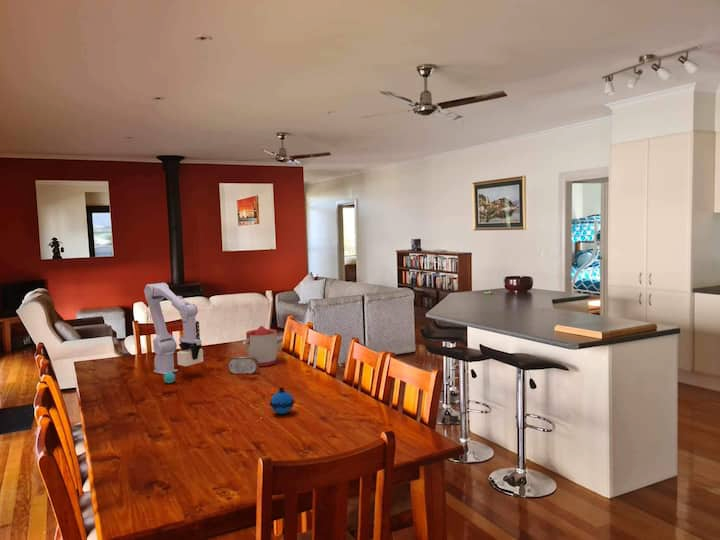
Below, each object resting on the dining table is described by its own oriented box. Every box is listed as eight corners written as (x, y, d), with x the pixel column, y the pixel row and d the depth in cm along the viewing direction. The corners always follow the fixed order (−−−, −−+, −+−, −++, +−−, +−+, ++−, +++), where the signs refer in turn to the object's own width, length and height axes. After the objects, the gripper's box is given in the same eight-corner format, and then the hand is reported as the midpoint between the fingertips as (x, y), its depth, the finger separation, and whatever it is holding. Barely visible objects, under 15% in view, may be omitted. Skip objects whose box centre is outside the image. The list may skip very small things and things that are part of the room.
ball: (165, 369, 243) (172, 374, 246) (159, 379, 240) (166, 384, 243) (172, 370, 240) (179, 376, 243) (165, 380, 237) (173, 386, 240)
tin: (259, 373, 256) (259, 355, 255) (257, 374, 252) (257, 357, 252) (229, 373, 257) (228, 355, 256) (227, 374, 254) (226, 357, 253)
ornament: (298, 411, 199) (297, 385, 198) (284, 419, 192) (283, 392, 191) (280, 408, 203) (279, 382, 203) (265, 415, 196) (264, 388, 195)
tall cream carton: (177, 364, 248) (177, 352, 248) (195, 360, 256) (195, 347, 256) (185, 366, 245) (184, 353, 244) (203, 361, 253) (202, 349, 252)
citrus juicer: (241, 363, 275) (239, 325, 274) (273, 359, 283) (272, 322, 281) (247, 370, 261) (246, 330, 260) (282, 365, 269) (280, 326, 267)
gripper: (172, 329, 251) (174, 358, 252) (191, 332, 242) (193, 362, 243) (185, 327, 256) (187, 355, 257) (204, 330, 248) (205, 358, 249)
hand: (190, 358), depth 251 cm, fingers closed on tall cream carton, 6 cm apart
